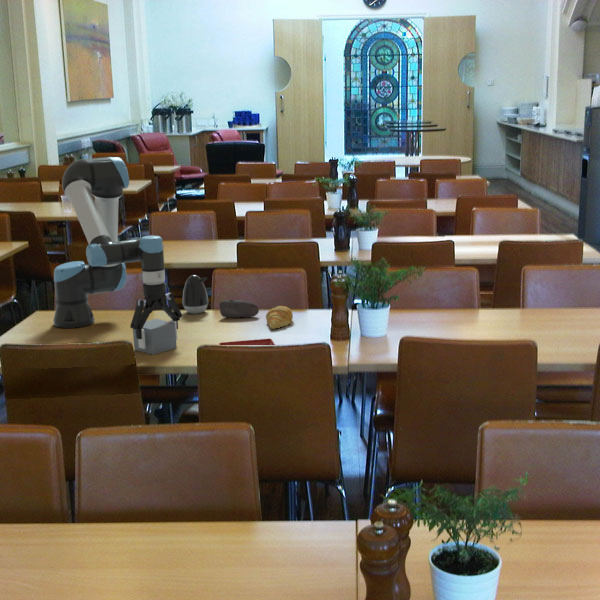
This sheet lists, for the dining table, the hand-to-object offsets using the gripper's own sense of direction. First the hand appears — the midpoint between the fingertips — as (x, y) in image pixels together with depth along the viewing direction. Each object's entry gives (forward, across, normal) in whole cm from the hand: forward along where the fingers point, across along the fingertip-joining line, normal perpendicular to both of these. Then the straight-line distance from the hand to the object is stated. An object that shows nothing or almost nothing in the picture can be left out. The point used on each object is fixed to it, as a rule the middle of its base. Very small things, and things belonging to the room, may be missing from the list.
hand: (158, 343), depth 296 cm
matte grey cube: (+2, 0, +2) cm, 3 cm away
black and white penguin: (+2, +42, +30) cm, 52 cm away
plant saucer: (+3, +14, -30) cm, 33 cm away
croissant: (+3, +50, -9) cm, 51 cm away
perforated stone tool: (+3, +47, +10) cm, 48 cm away
